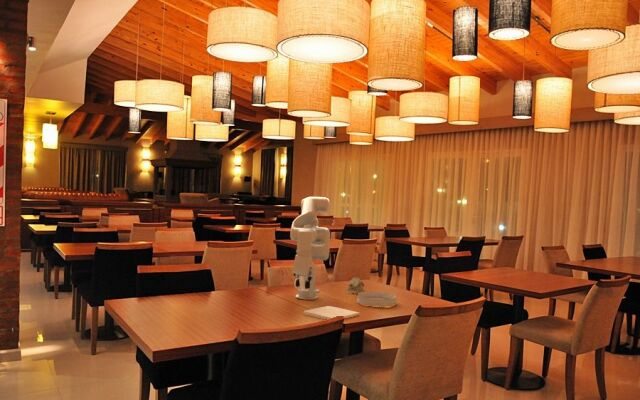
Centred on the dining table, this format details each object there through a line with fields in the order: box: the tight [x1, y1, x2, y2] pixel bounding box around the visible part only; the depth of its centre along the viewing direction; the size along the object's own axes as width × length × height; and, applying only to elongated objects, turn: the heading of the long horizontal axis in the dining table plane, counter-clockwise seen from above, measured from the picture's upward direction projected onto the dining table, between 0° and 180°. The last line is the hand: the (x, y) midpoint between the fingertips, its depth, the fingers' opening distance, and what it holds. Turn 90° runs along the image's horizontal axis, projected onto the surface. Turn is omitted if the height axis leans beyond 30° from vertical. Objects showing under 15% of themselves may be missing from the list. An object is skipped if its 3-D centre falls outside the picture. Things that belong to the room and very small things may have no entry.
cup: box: [293, 275, 311, 292], centre depth 275 cm, size 7×10×8 cm
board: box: [302, 305, 360, 321], centre depth 261 cm, size 20×20×2 cm
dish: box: [356, 291, 397, 307], centre depth 294 cm, size 22×22×5 cm
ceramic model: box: [346, 276, 366, 295], centre depth 324 cm, size 14×11×10 cm
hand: (302, 287), depth 275 cm, fingers closed on cup, 6 cm apart
